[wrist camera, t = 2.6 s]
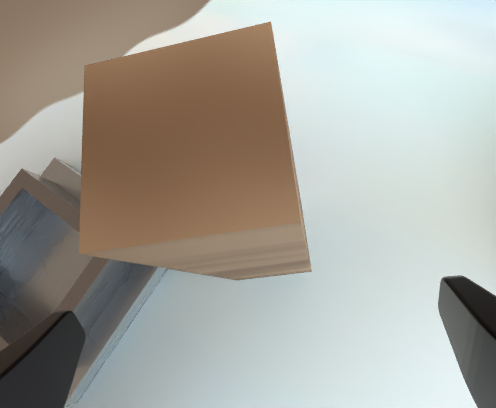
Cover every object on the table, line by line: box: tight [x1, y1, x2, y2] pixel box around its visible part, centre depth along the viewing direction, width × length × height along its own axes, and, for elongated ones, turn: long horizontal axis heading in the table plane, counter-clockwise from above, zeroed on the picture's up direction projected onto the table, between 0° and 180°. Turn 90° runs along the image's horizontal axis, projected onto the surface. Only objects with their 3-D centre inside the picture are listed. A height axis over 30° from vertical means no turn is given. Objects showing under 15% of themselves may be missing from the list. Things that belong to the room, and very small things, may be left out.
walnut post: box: [79, 22, 311, 280], centre depth 13 cm, size 4×4×13 cm
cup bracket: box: [0, 158, 167, 407], centre depth 19 cm, size 10×10×4 cm
